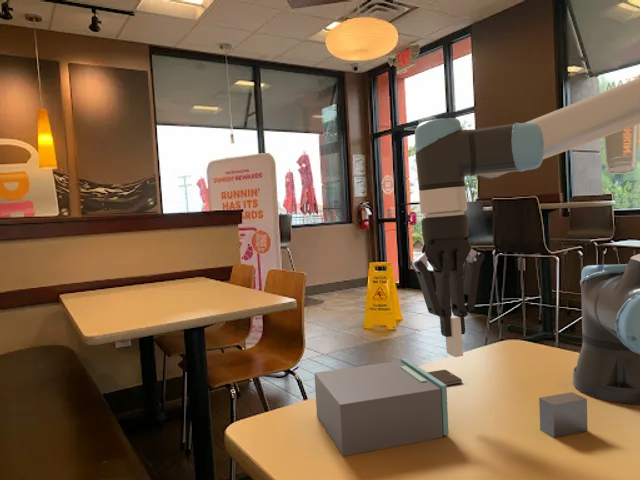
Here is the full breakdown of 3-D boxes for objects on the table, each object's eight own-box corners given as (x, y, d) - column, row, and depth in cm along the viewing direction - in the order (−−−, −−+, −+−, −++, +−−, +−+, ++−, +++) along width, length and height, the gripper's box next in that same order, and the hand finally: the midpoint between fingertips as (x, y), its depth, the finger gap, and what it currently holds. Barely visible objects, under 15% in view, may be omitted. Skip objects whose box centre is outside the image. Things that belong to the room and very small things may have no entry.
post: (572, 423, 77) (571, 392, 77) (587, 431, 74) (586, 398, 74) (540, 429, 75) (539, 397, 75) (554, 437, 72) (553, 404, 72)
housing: (401, 401, 89) (399, 359, 88) (442, 437, 74) (440, 387, 74) (316, 415, 85) (314, 371, 84) (342, 456, 70) (339, 403, 70)
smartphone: (374, 380, 100) (445, 368, 103) (374, 385, 100) (445, 373, 103) (387, 392, 92) (463, 379, 96) (388, 398, 92) (463, 385, 96)
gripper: (465, 212, 86) (476, 343, 88) (398, 218, 83) (409, 355, 84) (491, 210, 79) (502, 353, 80) (418, 217, 76) (430, 367, 77)
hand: (454, 354), depth 82 cm, fingers closed
